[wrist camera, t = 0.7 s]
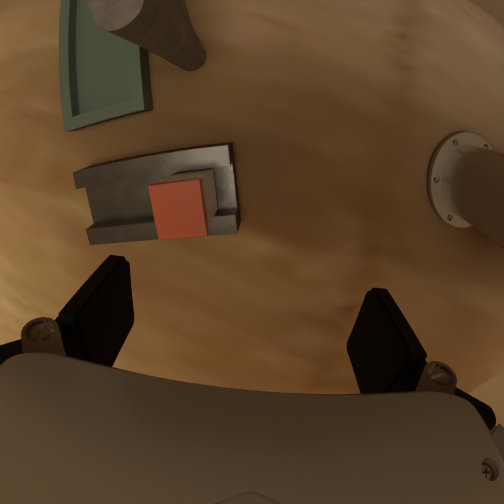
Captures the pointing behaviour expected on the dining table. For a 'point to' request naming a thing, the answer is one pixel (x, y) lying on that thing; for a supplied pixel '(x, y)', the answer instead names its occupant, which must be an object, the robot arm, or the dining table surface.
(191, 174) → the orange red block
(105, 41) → the tray
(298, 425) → the robot arm
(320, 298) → the dining table surface
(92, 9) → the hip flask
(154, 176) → the switch panel
